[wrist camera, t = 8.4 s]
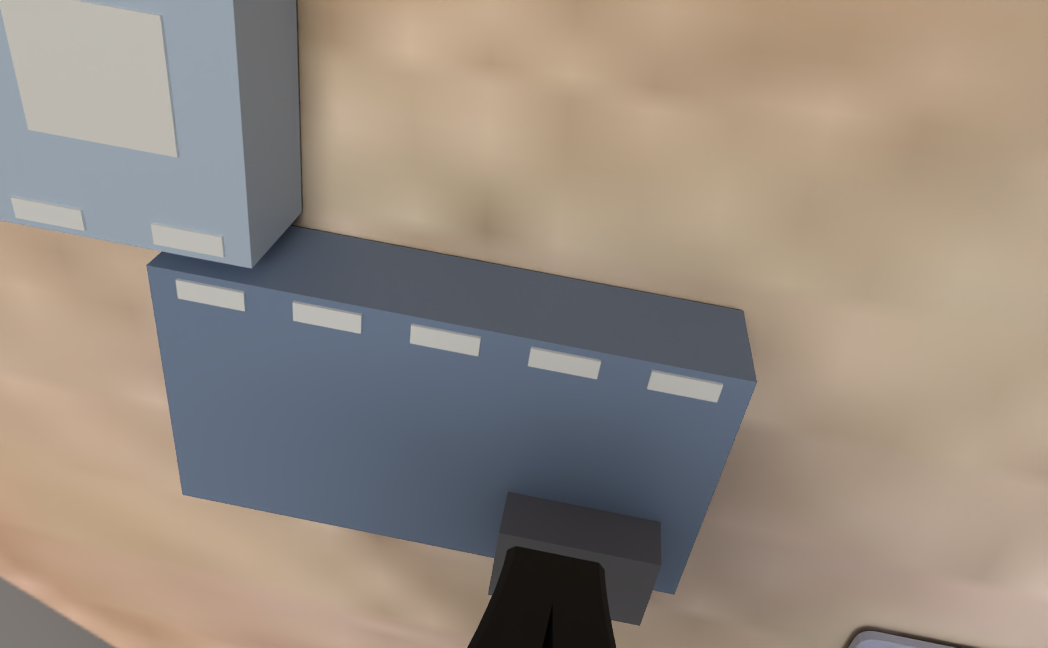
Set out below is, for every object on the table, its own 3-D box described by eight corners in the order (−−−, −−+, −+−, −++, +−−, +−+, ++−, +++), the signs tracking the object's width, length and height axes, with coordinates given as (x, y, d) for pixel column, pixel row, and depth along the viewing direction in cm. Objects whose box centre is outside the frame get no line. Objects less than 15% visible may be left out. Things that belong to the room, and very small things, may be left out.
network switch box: (743, 310, 20) (764, 423, 16) (671, 513, 24) (675, 639, 20) (208, 210, 20) (111, 296, 16) (230, 425, 24) (156, 532, 21)
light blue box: (294, -64, 16) (228, -41, 14) (302, 212, 20) (250, 270, 17) (19, -112, 16) (-97, -99, 14) (76, 169, 20) (-8, 221, 17)
